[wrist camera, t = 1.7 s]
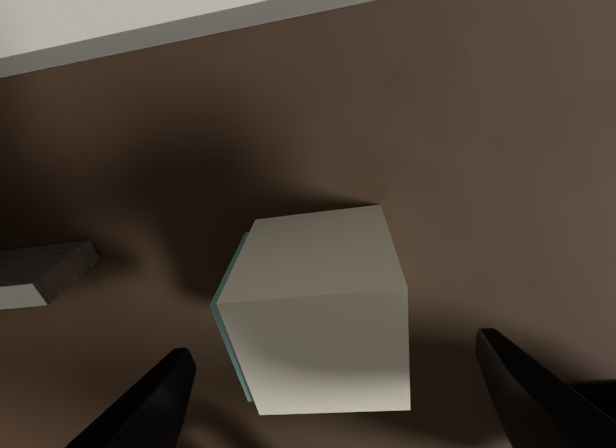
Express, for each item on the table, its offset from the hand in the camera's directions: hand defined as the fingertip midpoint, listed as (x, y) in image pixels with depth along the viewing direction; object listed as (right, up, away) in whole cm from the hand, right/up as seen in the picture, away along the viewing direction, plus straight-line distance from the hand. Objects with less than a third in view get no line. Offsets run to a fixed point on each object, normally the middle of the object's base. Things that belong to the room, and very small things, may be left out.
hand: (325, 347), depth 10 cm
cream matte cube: (0, +2, +4) cm, 5 cm away
